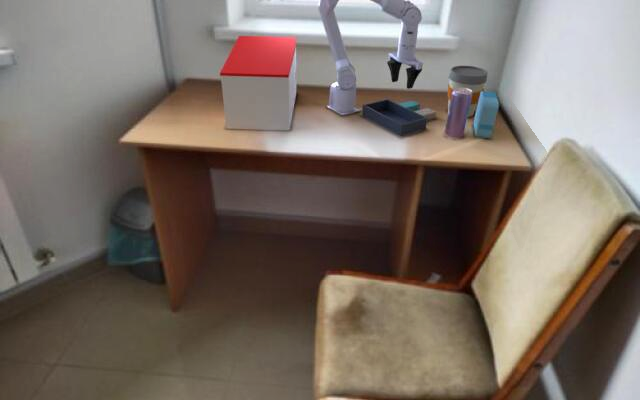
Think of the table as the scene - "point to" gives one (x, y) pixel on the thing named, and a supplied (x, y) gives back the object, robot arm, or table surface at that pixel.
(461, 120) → the beverage can
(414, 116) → the box
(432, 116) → the silver metal block
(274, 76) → the red-topped white block
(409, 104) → the block
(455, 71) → the lidded jar
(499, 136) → the table surface
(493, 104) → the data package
